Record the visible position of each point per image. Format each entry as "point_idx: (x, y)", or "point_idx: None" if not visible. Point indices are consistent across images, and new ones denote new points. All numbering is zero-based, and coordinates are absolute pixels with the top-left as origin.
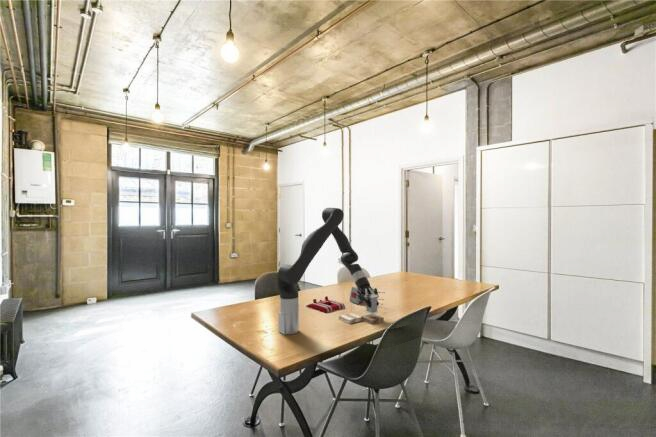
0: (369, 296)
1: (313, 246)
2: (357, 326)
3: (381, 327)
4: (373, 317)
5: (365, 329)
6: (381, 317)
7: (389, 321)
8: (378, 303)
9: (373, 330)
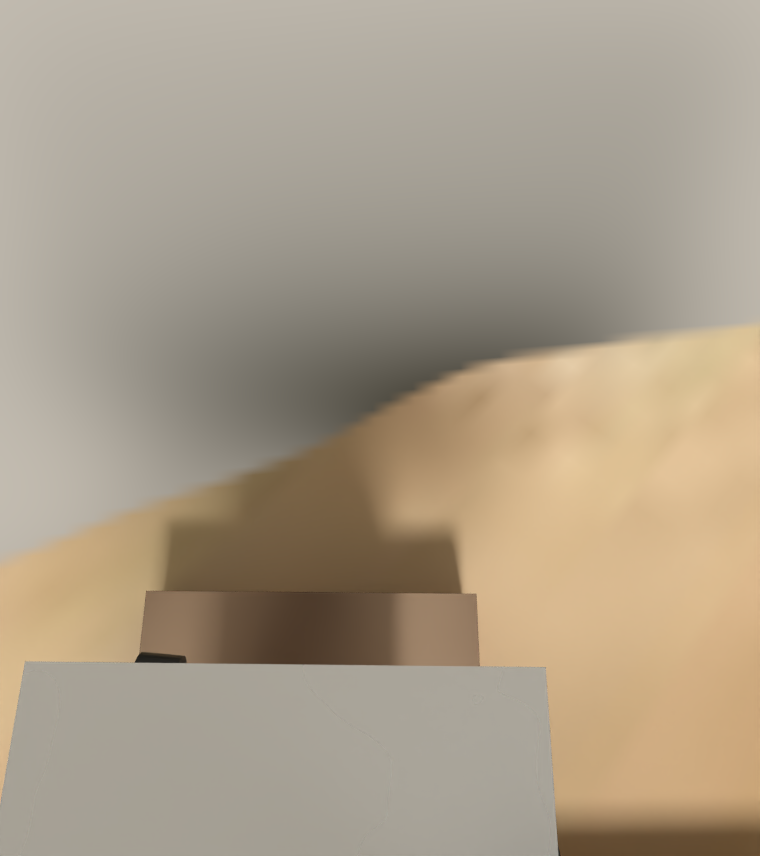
0: (544, 830)
1: None
2: (730, 672)
3: (431, 401)
4: None
5: (692, 483)
6: (174, 624)
7: (93, 527)
8: (141, 662)
9: (614, 384)
